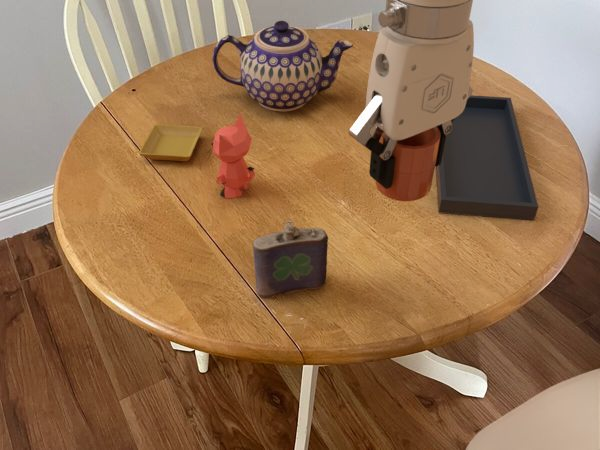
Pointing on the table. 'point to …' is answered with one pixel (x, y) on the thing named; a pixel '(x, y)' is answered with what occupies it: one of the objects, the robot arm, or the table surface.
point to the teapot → (283, 66)
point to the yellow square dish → (171, 142)
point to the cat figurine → (233, 158)
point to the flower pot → (413, 166)
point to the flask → (290, 260)
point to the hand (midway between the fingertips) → (405, 169)
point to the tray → (485, 164)
